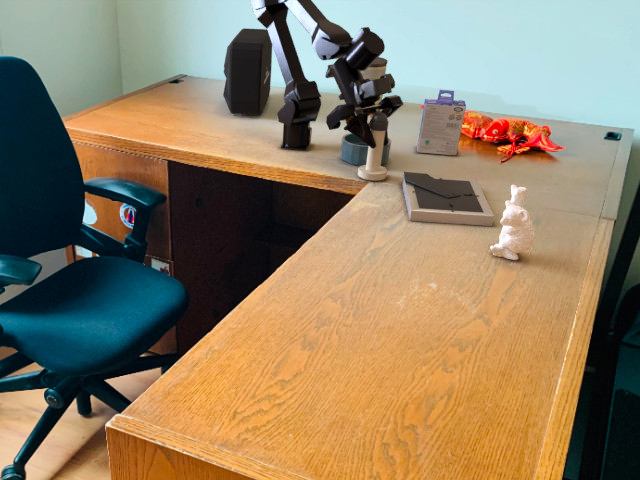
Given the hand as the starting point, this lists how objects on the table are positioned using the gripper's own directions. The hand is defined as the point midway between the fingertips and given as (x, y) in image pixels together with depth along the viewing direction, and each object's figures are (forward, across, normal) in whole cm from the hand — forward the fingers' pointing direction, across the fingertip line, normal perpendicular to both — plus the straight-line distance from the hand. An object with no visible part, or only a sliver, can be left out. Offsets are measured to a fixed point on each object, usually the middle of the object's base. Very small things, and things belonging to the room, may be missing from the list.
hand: (380, 146), depth 146 cm
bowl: (-3, +7, +13) cm, 15 cm away
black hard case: (-42, +13, +54) cm, 70 cm away
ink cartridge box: (+1, +28, +10) cm, 29 cm away
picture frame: (+18, +1, -8) cm, 20 cm away
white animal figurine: (+34, -8, -24) cm, 42 cm away
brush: (+4, 0, +6) cm, 7 cm away
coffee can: (-27, +41, +38) cm, 62 cm away
